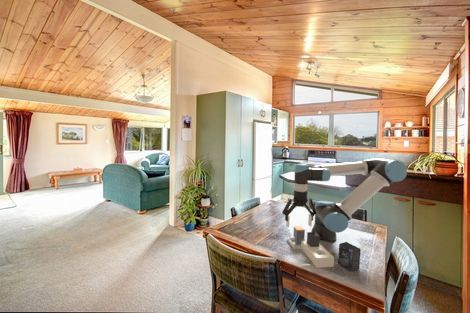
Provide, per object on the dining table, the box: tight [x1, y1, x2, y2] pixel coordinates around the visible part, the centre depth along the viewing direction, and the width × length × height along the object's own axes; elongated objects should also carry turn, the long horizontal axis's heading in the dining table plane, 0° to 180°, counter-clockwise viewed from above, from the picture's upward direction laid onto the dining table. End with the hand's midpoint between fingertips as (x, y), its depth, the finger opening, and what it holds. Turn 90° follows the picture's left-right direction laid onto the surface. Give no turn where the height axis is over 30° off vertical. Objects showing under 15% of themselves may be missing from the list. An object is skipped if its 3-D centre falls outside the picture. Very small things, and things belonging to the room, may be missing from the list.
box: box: [337, 241, 362, 272], centre depth 108 cm, size 8×6×11 cm
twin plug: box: [306, 227, 321, 247], centre depth 119 cm, size 5×5×13 cm
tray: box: [286, 236, 307, 250], centre depth 129 cm, size 10×10×2 cm
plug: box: [293, 225, 306, 245], centre depth 129 cm, size 5×5×10 cm
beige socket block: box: [300, 241, 336, 269], centre depth 116 cm, size 16×18×5 cm
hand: (298, 225), depth 128 cm, fingers open, 13 cm apart
